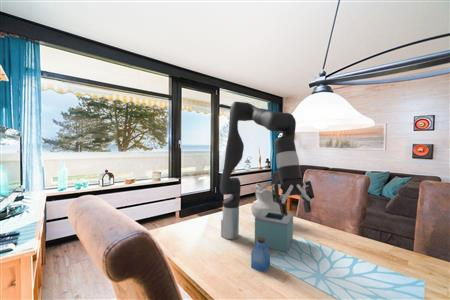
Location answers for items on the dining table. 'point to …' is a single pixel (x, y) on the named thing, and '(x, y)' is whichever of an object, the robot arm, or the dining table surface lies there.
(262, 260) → the perfume bottle
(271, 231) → the box
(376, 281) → the dining table surface
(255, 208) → the ceramic pitcher
